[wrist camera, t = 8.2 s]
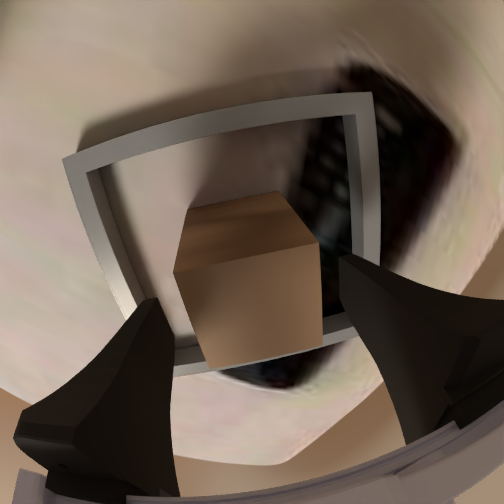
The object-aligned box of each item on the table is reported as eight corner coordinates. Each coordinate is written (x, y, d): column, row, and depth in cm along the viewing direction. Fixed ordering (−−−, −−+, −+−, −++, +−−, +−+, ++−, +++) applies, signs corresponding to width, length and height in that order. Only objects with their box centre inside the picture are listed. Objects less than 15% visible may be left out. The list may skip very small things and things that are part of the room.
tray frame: (161, 362, 18) (159, 378, 17) (75, 153, 12) (61, 158, 11) (364, 316, 19) (373, 331, 17) (357, 92, 12) (371, 91, 11)
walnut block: (208, 286, 16) (209, 369, 11) (187, 209, 14) (173, 272, 9) (288, 269, 16) (322, 345, 11) (278, 190, 14) (318, 242, 9)
